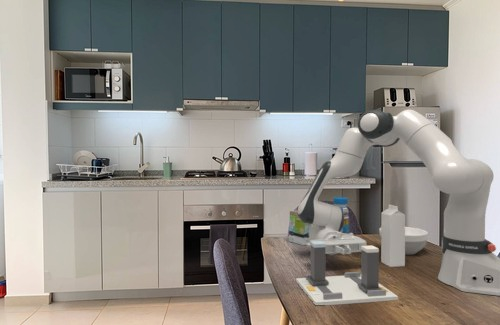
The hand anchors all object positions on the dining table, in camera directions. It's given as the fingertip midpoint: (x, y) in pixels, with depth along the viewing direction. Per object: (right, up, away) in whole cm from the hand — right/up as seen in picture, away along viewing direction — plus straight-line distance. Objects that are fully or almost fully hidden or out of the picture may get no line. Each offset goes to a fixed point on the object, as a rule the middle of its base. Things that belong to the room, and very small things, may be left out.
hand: (347, 251), depth 113 cm
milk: (+21, -8, +12) cm, 25 cm away
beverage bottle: (+12, -7, +52) cm, 54 cm away
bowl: (+32, -8, +29) cm, 44 cm away
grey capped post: (-12, -7, -10) cm, 17 cm away
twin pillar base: (-5, -8, -13) cm, 16 cm away
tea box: (-5, -8, +46) cm, 47 cm away
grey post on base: (+2, -7, -15) cm, 17 cm away
